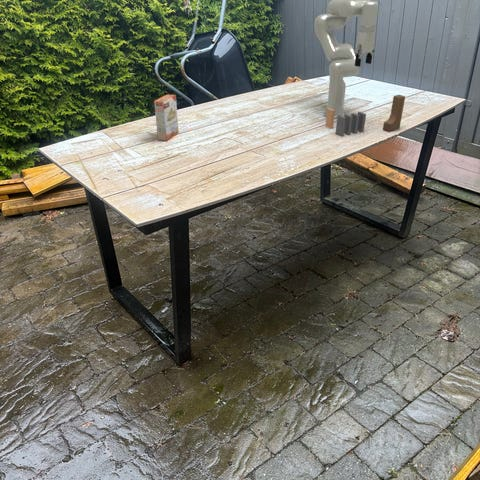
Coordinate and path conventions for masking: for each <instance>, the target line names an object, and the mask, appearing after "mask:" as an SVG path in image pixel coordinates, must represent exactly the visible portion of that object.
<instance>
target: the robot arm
mask: <svg viewBox="0 0 480 480" xmlns="http://www.w3.org/2000/svg"><path fill="white" fill-rule="evenodd" d="M326 6H327V12H328V13H323V14H319V15H318V16H316V18H315V20H314V33H315V35H316V37H317V38H318V40H319V43H320V44H321V46H322V49H323V52H324V54H325V58H326V59H327V61H329V62H330V64H329V66H328V75H329V85H328V95H327V97H328V98H327V105H326V106H324V109H325V111H324V113H323V115H324V117H326V116H327V108H331V109H333V110H335V115H334V119H337V115H341V116H343V117H344V114H346V113H345V112H344V106H345V97H346V89H347V86H346V83H345V80H344V78H349V77H356V76H357V75H358V74H359V72H360V67H361V62H362V58H361V57H362V56H363V55H366V58H365V64H369V65H371V64H372V59H373V55H374V53H375V49H376V45H375V33H376V24H377V17H378V10H379V2H377V1H372V0H330V1H329V2H328V4H327V5H326ZM357 17H358V18H360V22H359V23H360V25H359V31H358V33H357V38H356V43H355V49H354V47H353V46H352V45H351V44H349V43H339V42H338V41H337V38H336V36H335V34H333V33H332V32H331V31H332V30H341V29H343V28H344V27H345V25H346V24H347V22H348V21H349V19H350V18H357Z"/></svg>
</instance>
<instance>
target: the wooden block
mask: <svg viewBox="0 0 480 480" xmlns="http://www.w3.org/2000/svg"><path fill="white" fill-rule="evenodd" d="M405 100H406V96H405V95H402V94H396V95H393V98H392V103H391V110H390V114H389V115H390V116H389V118H388V119H387V120H385V121H384V122H383V126H382V131H386V132H387V133H388V132H393V131H397V130H400V129H401V122H402V117H403V112H404V106H405Z"/></svg>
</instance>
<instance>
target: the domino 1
mask: <svg viewBox="0 0 480 480" xmlns="http://www.w3.org/2000/svg"><path fill="white" fill-rule="evenodd" d="M334 115H335V110H333V109H331V108H327V116H325V118H326V119H325V127H327V128H328V129H334V121H335V118H334Z"/></svg>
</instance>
